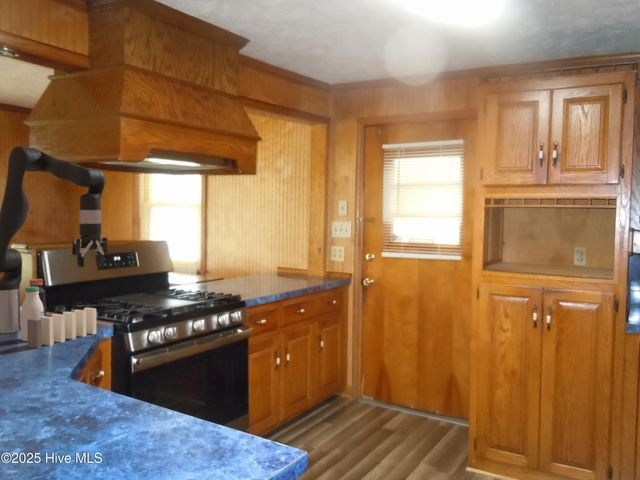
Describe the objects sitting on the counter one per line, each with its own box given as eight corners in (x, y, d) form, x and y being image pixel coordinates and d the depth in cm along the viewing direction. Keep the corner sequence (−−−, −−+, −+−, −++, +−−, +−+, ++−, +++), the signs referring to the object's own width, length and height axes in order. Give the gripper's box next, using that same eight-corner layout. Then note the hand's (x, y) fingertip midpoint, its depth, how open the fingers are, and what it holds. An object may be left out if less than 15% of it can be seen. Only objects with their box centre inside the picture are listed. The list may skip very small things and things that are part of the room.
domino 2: (49, 345, 193) (49, 318, 192) (40, 344, 195) (39, 317, 194) (53, 344, 194) (53, 317, 194) (43, 343, 196) (43, 316, 196)
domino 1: (37, 348, 188) (37, 320, 187) (27, 347, 190) (27, 319, 189) (41, 347, 189) (41, 319, 189) (31, 346, 191) (31, 318, 191)
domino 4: (72, 339, 202) (72, 313, 201) (63, 338, 204) (62, 312, 203) (76, 338, 203) (75, 312, 203) (66, 337, 205) (66, 311, 205)
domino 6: (93, 334, 211) (93, 309, 210) (84, 333, 213) (83, 308, 212) (96, 333, 212) (96, 308, 212) (87, 332, 214) (86, 307, 214)
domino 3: (61, 342, 197) (61, 315, 197) (51, 341, 199) (51, 314, 199) (65, 341, 199) (64, 315, 198) (55, 340, 201) (55, 313, 200)
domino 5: (83, 336, 206) (82, 311, 206) (73, 335, 208) (73, 310, 208) (86, 336, 208) (86, 310, 207) (77, 334, 210) (76, 309, 209)
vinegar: (29, 325, 225) (28, 278, 224) (47, 324, 227) (46, 278, 226) (26, 329, 219) (25, 280, 218) (44, 328, 221) (43, 280, 220)
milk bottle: (37, 342, 197) (36, 288, 196) (16, 341, 198) (15, 288, 197) (48, 337, 205) (47, 285, 204) (28, 336, 205) (27, 285, 204)
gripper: (98, 221, 205) (98, 263, 206) (66, 222, 192) (67, 267, 193) (112, 222, 202) (112, 265, 202) (82, 222, 189) (82, 268, 189)
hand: (90, 265), depth 198 cm, fingers open, 8 cm apart
